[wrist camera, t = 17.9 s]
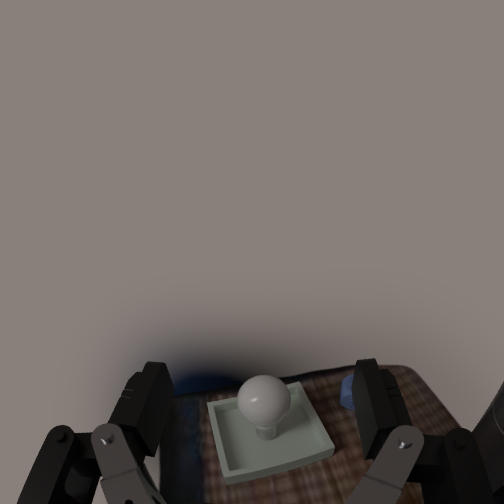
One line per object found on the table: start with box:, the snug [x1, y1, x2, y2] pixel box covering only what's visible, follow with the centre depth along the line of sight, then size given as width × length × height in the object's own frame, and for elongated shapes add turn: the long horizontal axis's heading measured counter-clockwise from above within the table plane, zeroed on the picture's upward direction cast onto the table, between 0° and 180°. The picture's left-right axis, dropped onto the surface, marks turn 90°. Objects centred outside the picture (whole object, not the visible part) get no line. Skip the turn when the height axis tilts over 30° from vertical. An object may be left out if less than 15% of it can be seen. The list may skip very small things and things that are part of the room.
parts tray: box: [207, 382, 335, 485], centre depth 36 cm, size 14×13×2 cm
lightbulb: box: [237, 375, 291, 440], centre depth 34 cm, size 6×6×11 cm
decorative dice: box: [340, 374, 354, 410], centre depth 40 cm, size 4×4×4 cm
